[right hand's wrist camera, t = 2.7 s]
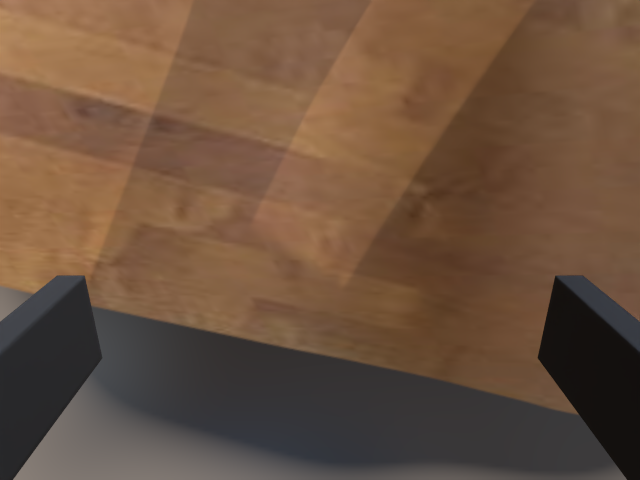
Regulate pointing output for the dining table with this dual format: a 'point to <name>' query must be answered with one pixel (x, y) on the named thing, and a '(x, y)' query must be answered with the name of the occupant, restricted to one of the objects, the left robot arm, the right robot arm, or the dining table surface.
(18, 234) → the dining table surface
